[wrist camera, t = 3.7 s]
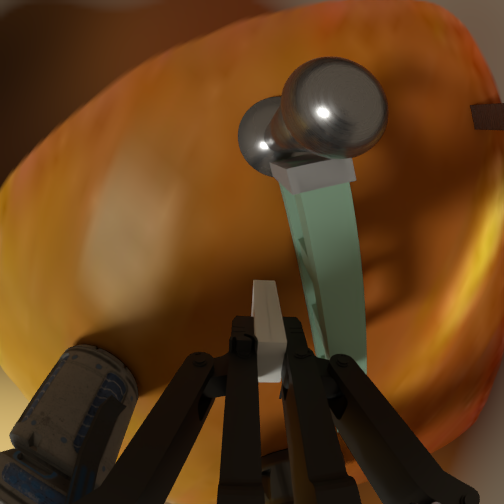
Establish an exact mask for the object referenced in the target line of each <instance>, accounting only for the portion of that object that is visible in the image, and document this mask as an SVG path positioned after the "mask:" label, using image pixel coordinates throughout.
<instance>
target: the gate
mask: <svg viewBox="0 0 504 504" xmlns="http://www.w3.org/2000/svg"><path fill="white" fill-rule="evenodd" d="M269 163H270V167H271V171H272V175H273V177H274V178H275V179H276V180H277V181H278V182H279V185H280V189H281V193H282V197H283V201H284V205H285V209H286V213H287V217H288V222H289V226H290V230H291V235H292V239H293V243H294V248H295V252H296V257H297V262H298V266H299V271H300V276H301V280H302V285H303V290H304V295H305V300H306V305H307V310H308V315H309V320H310V326H311V331H312V336H313V342H314V347H315V353H316V357H319V358H323V359H328V360H330V358H331V357H332V356H333V355H335V354H346V355H348V356H350V357H352V358H353V359H354V360H355V361H356V363H357V364H358V365H359V366H360V368H361V369H362V370H363V371H364V372H365V374H367V350H366V318H365V300H364V287H363V275H362V265H361V256H360V247H359V239H358V232H357V225H356V218H355V212H354V206H353V200H352V194H351V188H350V183H349V182H352V181H356V177H355V172H354V167H353V162H352V158H348V159H329V158H325V157H321V156H318V155H316V154H304V155H299V156H294V157H290V158H286V159H281V160H277V161H273V162H269ZM336 429H337V428H336ZM337 432H338V430H337Z"/></svg>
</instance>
